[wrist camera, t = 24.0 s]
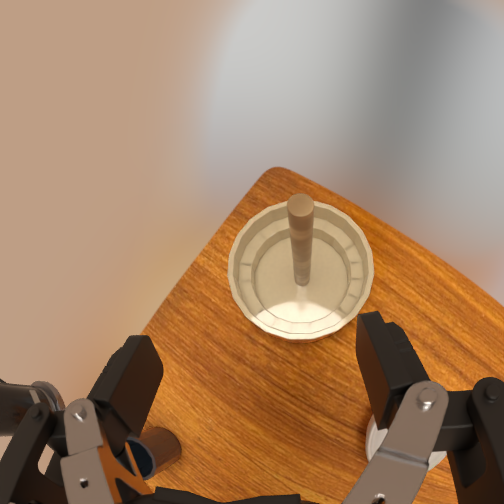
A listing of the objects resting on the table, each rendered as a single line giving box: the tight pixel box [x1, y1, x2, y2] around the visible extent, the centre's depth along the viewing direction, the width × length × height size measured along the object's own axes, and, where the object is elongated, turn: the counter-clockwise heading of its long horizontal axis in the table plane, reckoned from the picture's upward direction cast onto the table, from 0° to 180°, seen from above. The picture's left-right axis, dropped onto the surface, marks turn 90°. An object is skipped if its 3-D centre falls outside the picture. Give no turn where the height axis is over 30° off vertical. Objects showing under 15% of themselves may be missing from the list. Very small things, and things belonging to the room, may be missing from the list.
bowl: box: [227, 201, 374, 343], centre depth 31 cm, size 15×15×6 cm
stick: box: [287, 193, 314, 286], centre depth 26 cm, size 2×2×17 cm
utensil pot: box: [126, 427, 181, 480], centre depth 25 cm, size 6×6×7 cm
